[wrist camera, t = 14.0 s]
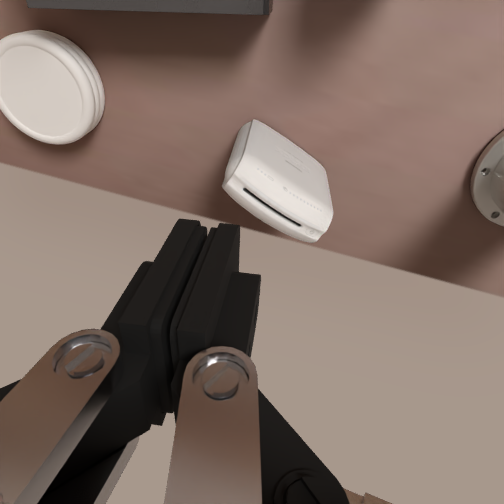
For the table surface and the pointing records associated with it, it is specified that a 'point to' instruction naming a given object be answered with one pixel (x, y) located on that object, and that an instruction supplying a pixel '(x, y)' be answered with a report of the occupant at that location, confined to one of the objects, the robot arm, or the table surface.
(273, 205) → the photo printer
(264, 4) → the grey lever box
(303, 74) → the table surface
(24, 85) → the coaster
